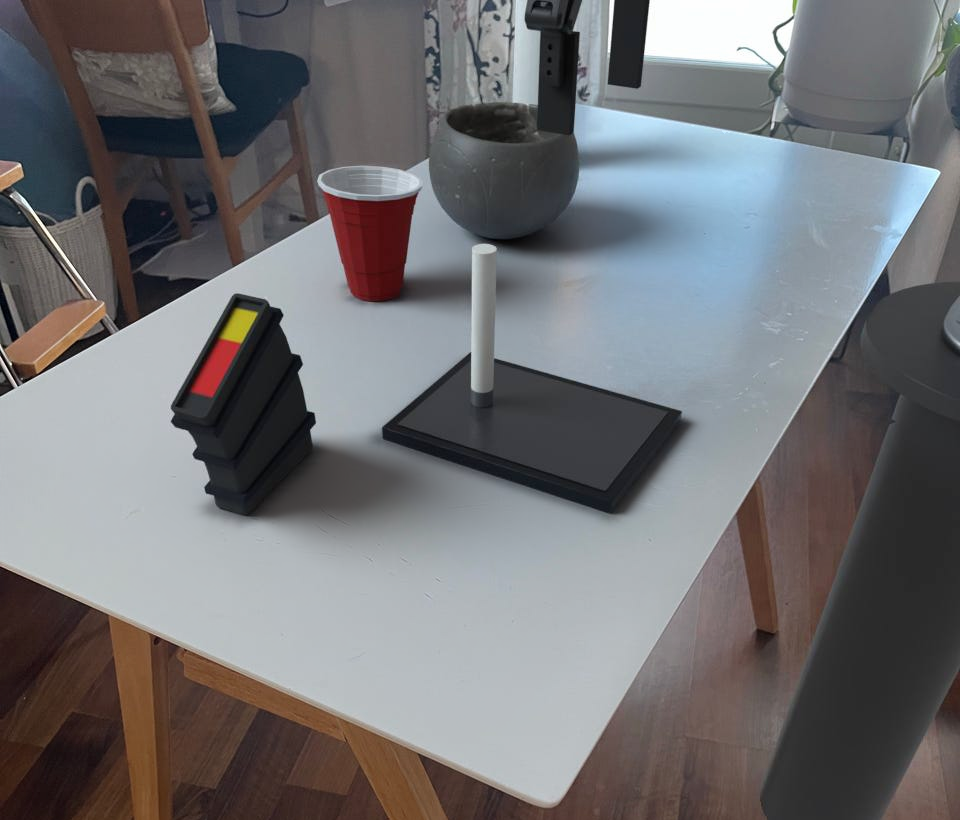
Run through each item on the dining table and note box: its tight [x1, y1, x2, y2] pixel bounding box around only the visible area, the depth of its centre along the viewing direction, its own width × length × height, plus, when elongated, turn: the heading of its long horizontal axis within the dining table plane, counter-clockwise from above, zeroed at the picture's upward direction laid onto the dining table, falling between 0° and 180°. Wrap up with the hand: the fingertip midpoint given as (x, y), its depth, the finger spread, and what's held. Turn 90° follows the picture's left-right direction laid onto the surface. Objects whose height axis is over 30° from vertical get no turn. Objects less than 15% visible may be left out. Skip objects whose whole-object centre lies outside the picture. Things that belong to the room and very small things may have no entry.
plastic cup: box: [317, 165, 424, 302], centre depth 103 cm, size 11×11×12 cm
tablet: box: [381, 351, 683, 514], centre depth 86 cm, size 22×16×1 cm
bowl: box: [428, 101, 580, 240], centre depth 115 cm, size 18×18×13 cm
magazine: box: [170, 292, 317, 516], centre depth 77 cm, size 4×13×15 cm, turn 157°
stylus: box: [470, 243, 498, 408], centre depth 83 cm, size 2×2×14 cm
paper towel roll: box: [512, 0, 540, 106], centre depth 130 cm, size 7×6×21 cm
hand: (591, 107), depth 77 cm, fingers open, 13 cm apart
